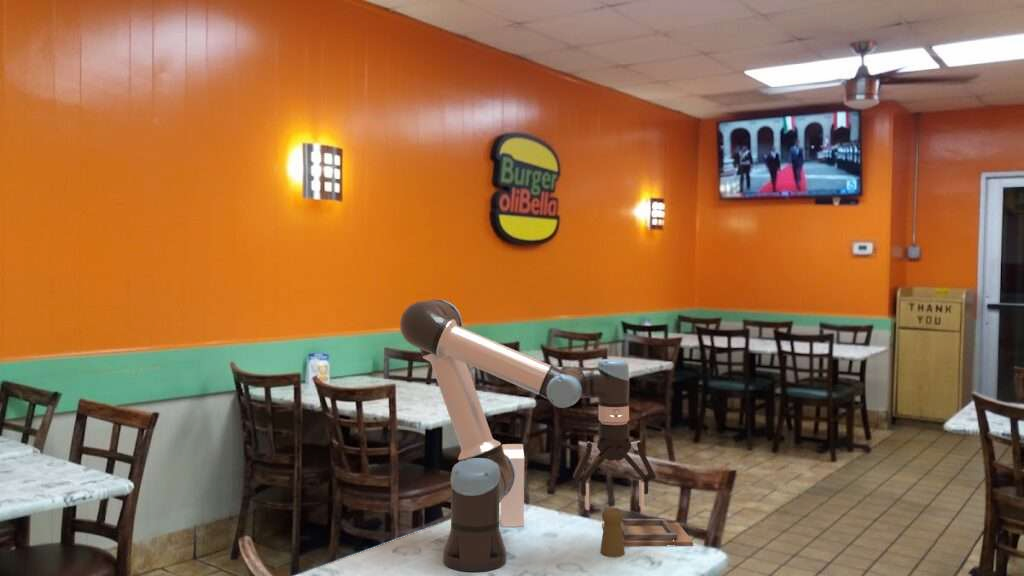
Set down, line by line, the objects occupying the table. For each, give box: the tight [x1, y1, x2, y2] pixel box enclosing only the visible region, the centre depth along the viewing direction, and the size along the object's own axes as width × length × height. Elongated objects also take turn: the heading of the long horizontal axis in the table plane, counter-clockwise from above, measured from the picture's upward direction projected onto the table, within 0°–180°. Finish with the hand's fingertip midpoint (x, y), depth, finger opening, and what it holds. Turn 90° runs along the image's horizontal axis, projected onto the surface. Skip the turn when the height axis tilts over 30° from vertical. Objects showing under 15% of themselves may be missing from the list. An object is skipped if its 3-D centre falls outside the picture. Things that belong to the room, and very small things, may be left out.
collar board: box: [601, 518, 694, 547], centre depth 217 cm, size 21×16×2 cm
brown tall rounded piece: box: [599, 507, 625, 558], centre depth 203 cm, size 6×6×11 cm
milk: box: [500, 443, 525, 528], centre depth 226 cm, size 6×6×22 cm
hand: (614, 507), depth 203 cm, fingers open, 13 cm apart
